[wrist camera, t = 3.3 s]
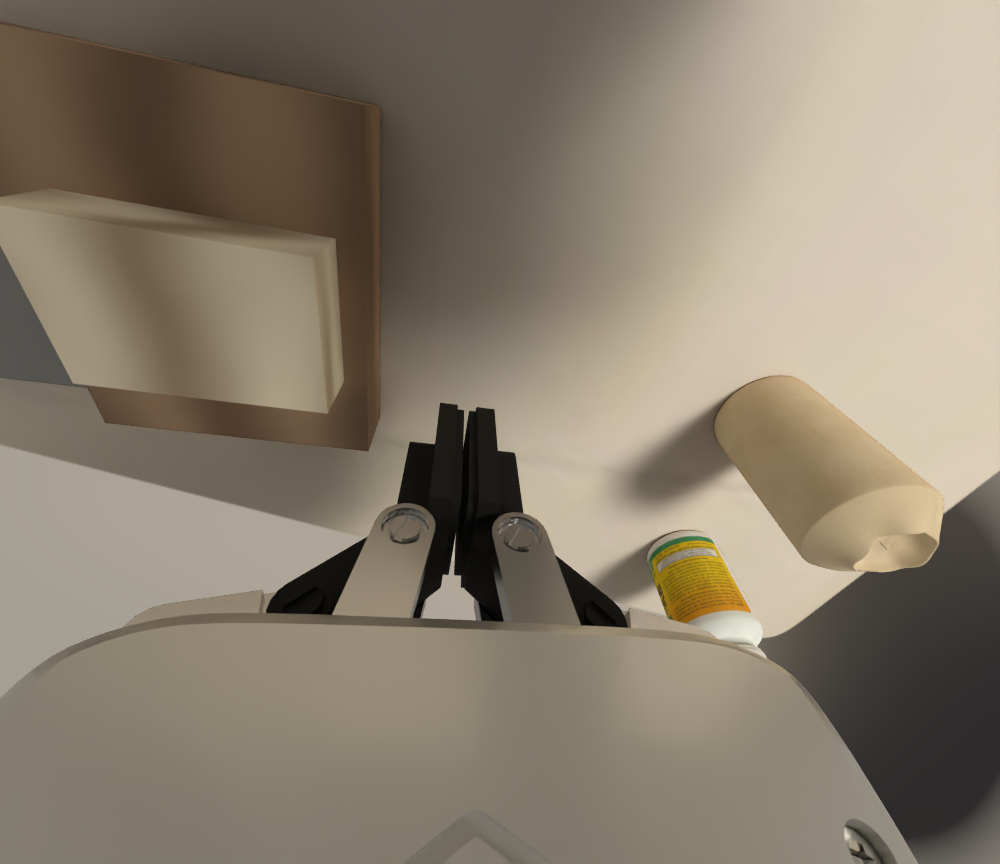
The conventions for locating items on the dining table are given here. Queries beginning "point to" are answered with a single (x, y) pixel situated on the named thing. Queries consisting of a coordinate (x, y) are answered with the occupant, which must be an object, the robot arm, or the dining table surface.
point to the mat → (25, 336)
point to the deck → (207, 192)
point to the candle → (828, 479)
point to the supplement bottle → (703, 588)
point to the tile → (179, 299)
